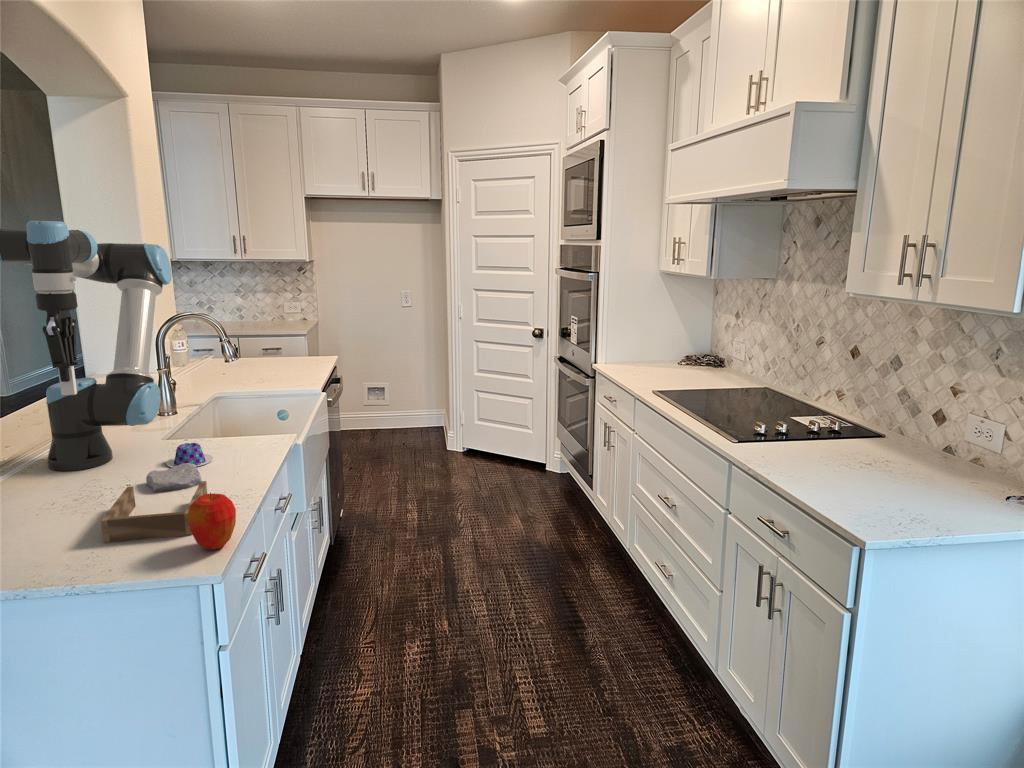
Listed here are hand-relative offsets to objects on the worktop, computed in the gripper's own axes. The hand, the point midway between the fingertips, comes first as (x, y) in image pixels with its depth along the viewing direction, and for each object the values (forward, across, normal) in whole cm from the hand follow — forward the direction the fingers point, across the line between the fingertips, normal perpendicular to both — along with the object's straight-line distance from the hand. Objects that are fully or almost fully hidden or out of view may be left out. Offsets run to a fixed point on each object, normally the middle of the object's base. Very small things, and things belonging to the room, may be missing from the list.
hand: (69, 394), depth 151 cm
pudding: (+27, +24, -19) cm, 41 cm away
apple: (+27, -32, -34) cm, 54 cm away
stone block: (+27, +7, -19) cm, 34 cm away
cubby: (+26, -16, -20) cm, 37 cm away
